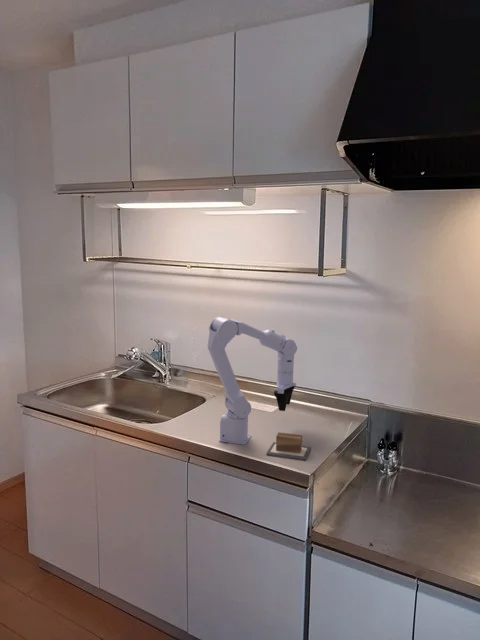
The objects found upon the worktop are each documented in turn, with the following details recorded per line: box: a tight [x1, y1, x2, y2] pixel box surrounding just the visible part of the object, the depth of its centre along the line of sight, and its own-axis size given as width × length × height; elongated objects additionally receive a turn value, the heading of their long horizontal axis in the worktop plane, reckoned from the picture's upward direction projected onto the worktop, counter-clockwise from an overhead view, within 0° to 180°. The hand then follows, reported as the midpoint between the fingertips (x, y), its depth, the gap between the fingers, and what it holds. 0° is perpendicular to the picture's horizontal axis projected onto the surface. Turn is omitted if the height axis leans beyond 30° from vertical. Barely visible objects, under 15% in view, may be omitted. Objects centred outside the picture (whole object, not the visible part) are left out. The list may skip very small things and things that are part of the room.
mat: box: [265, 441, 312, 461], centre depth 171 cm, size 13×10×1 cm
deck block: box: [275, 432, 303, 453], centre depth 171 cm, size 4×8×5 cm, turn 73°
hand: (284, 407), depth 187 cm, fingers open, 7 cm apart
